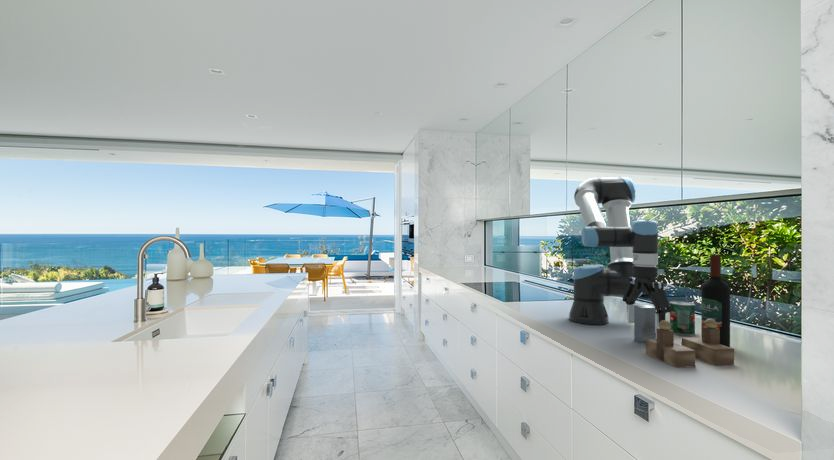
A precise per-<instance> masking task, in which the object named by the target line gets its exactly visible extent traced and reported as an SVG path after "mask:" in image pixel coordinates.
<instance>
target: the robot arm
mask: <svg viewBox="0 0 834 460" xmlns="http://www.w3.org/2000/svg"><path fill="white" fill-rule="evenodd" d="M575 189H576V190H575V191H574V194H573V195H574V196H573V197H574V202H575V204H576V205H577V207H579V211H580V214H581V218H582V222H583V226H584V227H582V229H581V243H582V245H583V246H584V247H590V248H591V247H592V248H596V247H597V248H598V247H599V248H601V247H602V248H605V247H606V248H607V247H608V248H609V254H610V262H608V264H607V268H606V267H605V266H604V265H603V264H586V265H580V266H577V267H575V268H574V269H573V277H572V279H573V302H572V305H571V308H570V311H569V313H568V314H569V315H568V318H569V320H570V321H572V322H575V323H579V324H584V325H606V324H609V315H608V312H607V308H606V306H605V300H604V299H605V297H612V298H613V297H618V298H622V299H621V300H622V302H625V304H626V315H627V318H626V319H627V324H634V306H637V305H636V301H637V300H638V298H639V297H641V296H642V295H643V294H645V295H647V296H648V298H649V299H650V302H651V303H652V305H653V307H655V309H656V312H655V333H656V334H657V328H660V327H659V323H660V321H662V320H666V314H668V313H670V312H671V308H670V303H669V300H668V297H667V295H666V291H665V289H664V288H665V287H664V282H662V281H656V278H658V277H659V272H658V271H659V269H658V268H659V267H658V265H659V254H658V253H659V244H658V243H659V242H658V241H659V228H658V225H659V224H658V222H657V221H656V220H635V221H633V222H632V225H631V223H630V222H631V221H630V214H629V213H630V212H629V211H630V210H629V209H630V208H631V206H632V203H634V202H635V200H636V188H635V183H634V181H633V180H632V179H631V178H629V177H627V176H625V177H624V176H623V177H622V176H618V177H616V176H615V177H592V178H588V179H586V180H585V181H583V182H582V183H580V184H579V185H578V187H577V188H575ZM600 204H601V206H602V209H603V210H604V211H606V218H607V224H606V221H605V219H604V215H603V212H602V210H601V207H600Z"/></svg>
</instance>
